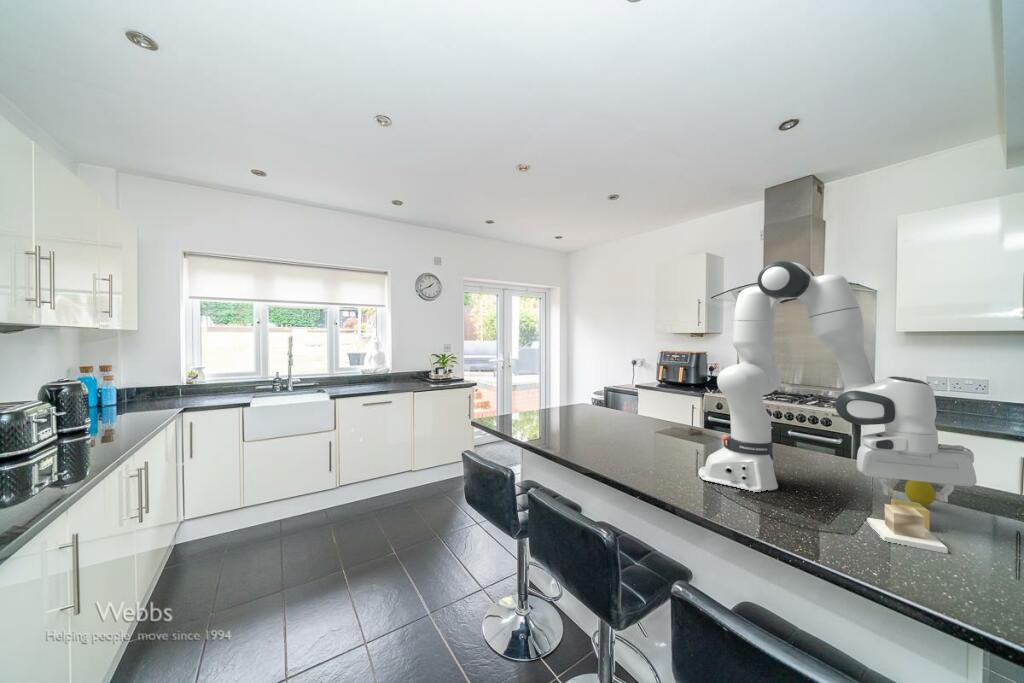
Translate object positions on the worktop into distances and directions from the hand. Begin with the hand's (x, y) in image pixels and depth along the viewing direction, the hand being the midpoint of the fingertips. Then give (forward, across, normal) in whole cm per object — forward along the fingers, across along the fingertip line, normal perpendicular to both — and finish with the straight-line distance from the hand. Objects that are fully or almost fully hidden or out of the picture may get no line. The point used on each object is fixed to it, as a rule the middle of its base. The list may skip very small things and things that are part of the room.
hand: (914, 497), depth 89 cm
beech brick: (+6, +5, +8) cm, 11 cm away
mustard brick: (+7, +1, 0) cm, 7 cm away
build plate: (+7, +5, +8) cm, 12 cm away
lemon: (+7, -6, -14) cm, 17 cm away
